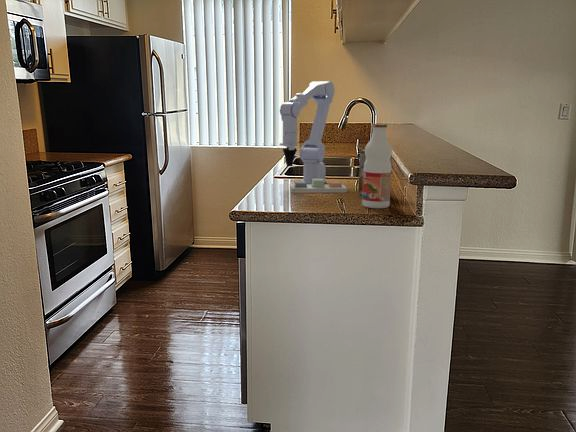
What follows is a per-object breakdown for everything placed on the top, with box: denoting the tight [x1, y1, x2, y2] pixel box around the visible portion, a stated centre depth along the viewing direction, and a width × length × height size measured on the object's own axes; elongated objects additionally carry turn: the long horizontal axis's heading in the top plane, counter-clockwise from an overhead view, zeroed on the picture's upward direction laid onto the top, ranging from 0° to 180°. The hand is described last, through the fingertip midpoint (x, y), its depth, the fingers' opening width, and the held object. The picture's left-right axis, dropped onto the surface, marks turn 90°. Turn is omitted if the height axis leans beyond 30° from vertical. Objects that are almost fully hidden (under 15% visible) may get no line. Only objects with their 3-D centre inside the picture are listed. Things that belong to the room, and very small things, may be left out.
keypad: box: [289, 183, 348, 194], centre depth 208 cm, size 22×10×2 cm, turn 95°
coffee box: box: [358, 151, 366, 196], centre depth 198 cm, size 9×6×16 cm
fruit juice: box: [361, 123, 393, 209], centre depth 175 cm, size 9×9×28 cm
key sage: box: [312, 179, 325, 186], centre depth 207 cm, size 4×4×2 cm
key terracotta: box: [328, 181, 343, 187], centre depth 208 cm, size 4×4×2 cm
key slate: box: [294, 181, 308, 188], centre depth 207 cm, size 4×4×2 cm
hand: (289, 166), depth 212 cm, fingers closed
